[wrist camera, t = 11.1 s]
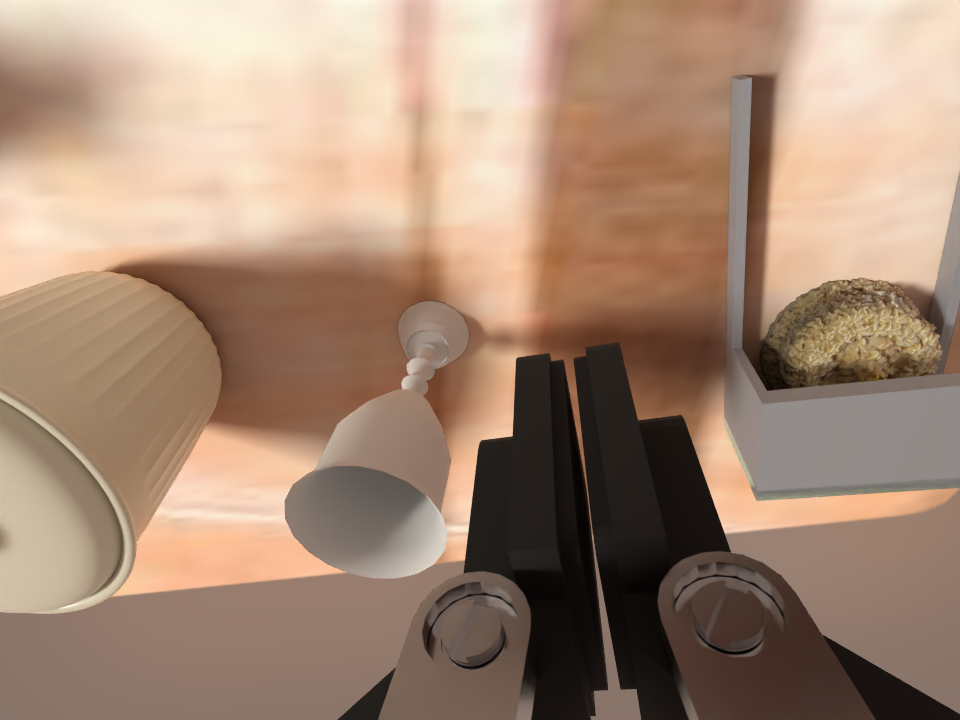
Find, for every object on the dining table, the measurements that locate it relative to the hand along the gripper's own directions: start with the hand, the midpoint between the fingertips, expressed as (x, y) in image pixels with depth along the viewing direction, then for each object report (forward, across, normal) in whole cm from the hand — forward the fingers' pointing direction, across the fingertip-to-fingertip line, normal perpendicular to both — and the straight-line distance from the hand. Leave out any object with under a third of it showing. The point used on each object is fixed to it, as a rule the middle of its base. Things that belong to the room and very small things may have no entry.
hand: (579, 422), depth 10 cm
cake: (+27, -17, +18) cm, 37 cm away
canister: (+28, +32, +10) cm, 44 cm away
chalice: (+28, +10, +12) cm, 32 cm away
